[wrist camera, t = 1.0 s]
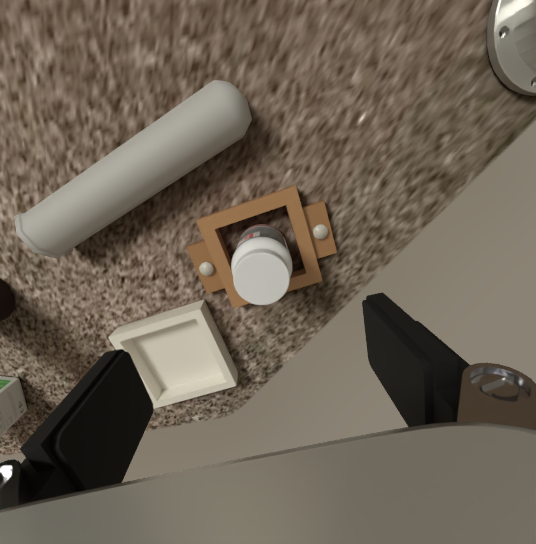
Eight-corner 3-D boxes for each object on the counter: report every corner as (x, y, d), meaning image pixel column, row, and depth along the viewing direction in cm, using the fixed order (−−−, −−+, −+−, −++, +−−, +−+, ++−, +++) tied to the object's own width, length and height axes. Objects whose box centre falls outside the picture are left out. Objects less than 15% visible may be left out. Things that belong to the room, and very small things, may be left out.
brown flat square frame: (316, 177, 28) (319, 177, 26) (339, 269, 32) (343, 274, 30) (179, 224, 30) (174, 227, 28) (216, 307, 33) (213, 314, 32)
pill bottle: (228, 241, 30) (211, 270, 21) (268, 213, 29) (270, 231, 20) (256, 279, 32) (252, 321, 23) (295, 254, 31) (309, 288, 22)
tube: (223, 51, 21) (3, 209, 25) (255, 108, 21) (29, 258, 25) (239, 91, 27) (55, 217, 30) (265, 137, 26) (77, 258, 30)
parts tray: (204, 299, 33) (199, 308, 31) (238, 372, 37) (236, 385, 35) (118, 326, 34) (108, 337, 32) (160, 394, 38) (153, 408, 36)
